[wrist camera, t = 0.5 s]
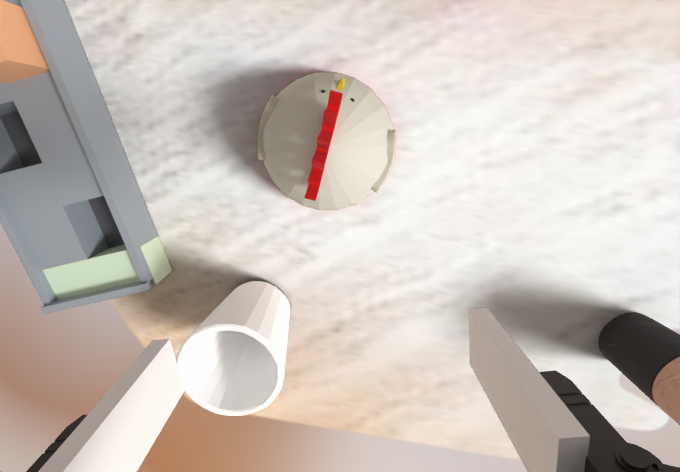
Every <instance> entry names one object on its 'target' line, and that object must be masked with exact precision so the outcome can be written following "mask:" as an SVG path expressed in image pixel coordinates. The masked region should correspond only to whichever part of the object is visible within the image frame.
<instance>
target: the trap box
mask: <svg viewBox="0 0 680 472" xmlns="http://www.w3.org/2000/svg"><path fill="white" fill-rule="evenodd" d="M4 1H6V2H9V3H12V4H14V5H17V6H20V7H22V8H23V9H24V12H25V14H26V16H27V19H28V21H29V23H30V26H31V28H32V30H33V33H34V35H35V37H36V39H37V42H38V44H39V46H40V49H41V51H42V53H43V56H44V58H45V60H46V63H47V65H48V67H49V70H50V72H47V73H43V74H40V75H36V76H33V77H29V78H25V79H22V80H18V81H15V82H11V83H8V84H6V83H0V222H1V224H2V226H3V228H4V230H5V232H6V234H7V236H8V237H9V239H10V241H11V243H12V245H13V247H14V249H15V251H16V253H17V254H18V256H19V258H20V260H21V262H22V264H23V266H24V268H25V270H26V271H27V274H28V276H29V277H30V279H31V281H32V283H33V285H34V287H35V289H36V291H37V293H38V295H39V297H40V298H41V300H42V302H43V304H44V306H43V307H41V310H42V311H43V313H44V314H47V313H51V312H56V311H61V310H65V309H70V308H73V307H78V306H83V305H87V304H91V303H96V302H100V301H105V300H109V299H113V298H118V297H122V296H127V295H131V294H135V293H140V292H144V291H149V290H150V289H151V288H153V287H154V286H155V285H156V284H157V283H159V282H160V281H161V280H162V279H163V278H165V277H166V276H167V275H168V274H169V273H171V272H172V268H171V266H170V263H169V261H168V258H167V256H166V253H165V251H164V248H163V246H162V243H161V241H160V238H159V236H158V233H157V231H156V228H155V226H154V223H153V221H152V218H151V216H150V213H149V211H148V208H147V206H146V203H145V201H144V198H143V196H142V193H141V191H140V188H139V186H138V183H137V181H136V178H135V176H134V173H133V171H132V168H131V166H130V163H129V161H128V158H127V156H126V153H125V151H124V148H123V146H122V143H121V141H120V138H119V136H118V133H117V131H116V128H115V126H114V123H113V121H112V118H111V116H110V113H109V111H108V108H107V106H106V103H105V101H104V98H103V96H102V93H101V91H100V88H99V86H98V83H97V81H96V78H95V76H94V73H93V71H92V68H91V66H90V63H89V61H88V58H87V56H86V53H85V51H84V48H83V46H82V43H81V41H80V38H79V36H78V34H77V31H76V29H75V26H74V24H73V21H72V19H71V16H70V14H69V11H68V9H67V6H66V4H65V1H64V0H4Z"/></svg>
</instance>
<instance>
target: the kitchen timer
mask: <svg viewBox="0 0 680 472" xmlns="http://www.w3.org/2000/svg"><path fill="white" fill-rule="evenodd" d="M395 149H396V130H393V123H392V121H391V119H390V116H389V114H388V112H387V109H386V107H385V105H384V103H383V102H382V101H381V100H380V98H379V97H378V96H377V95H376V94H375V92H374V91H373V90H372V89H371V88H369V87H368V86H366V85H365V84H363V83H362V82H360V81H359V80H357V79H356V78H354V77H350V76H347V75H344V74H340V73H337V72H318V73H313V74H310V75H307V76H304V77H301V78H298V79H296V80H295V81H293V82H292V83H291V84H289V85H288V86H287V87H285V88H284V89H283V90H281V91H280V92H279V94H278V95H277V96H276V97H275V96H274V95H272V96H271V97H270V98H269V100H268V102H267V104H266V106H265V108H264V110H263V113H262V117H261V120H260V125H259V131H258V141H257V154H258V160H259V161H262V160H263V161H264V165H265V167H266V169H267V171H268V173H269V175H270V177H271V178H272V180H273V182H274V183H275V184H276V185H277V187H278V188H279V189H280V190H281V191H282V192H283V193H284V194H285V195H286V196H287V197H289V198H291V199H292V200H294V201H296V202H297V203H299V204H301V205H302V206H306V207H310V208H314V209H317V210H339V209H343V208H346V207H349V206H352V205H356V204H357V203H359V202H360V201H362V200H363V199H365V198H366V197H368V196H369V195H371V194H372V193H373V192H377V191H378V190H379V189H380V187H381V185H382V184H383V182H384V180H385V179H386V177H387V175H388V173H389V171H390V168H391V166H392V163H393V159H394V155H395Z"/></svg>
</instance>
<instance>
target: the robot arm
mask: <svg viewBox="0 0 680 472" xmlns="http://www.w3.org/2000/svg"><path fill="white" fill-rule="evenodd" d="M469 336H470V365H471V367H472V369H473V371H474V373H475V374H476V376H477V378H478V380H479V382H480V384H481V386H482V387H483V389H484V391H485V393H486V395H487V397H488V399H489V400H490V402H491V404H492V406H493V408H494V410H495V412H496V413H497V415H498V417H499V419H500V421H501V423H502V425H503V427H504V428H505V430H506V432H507V434H508V436H509V438H510V440H511V441H512V443H513V445H514V447H515V449H516V451H517V453H518V454H519V456H520V458H521V460H522V462H523V464H524V465H525V468H526V469H527V471H528V472H680V468H678V467H673V466H669V465H665V464H662V462H661V461H660V460H659V459H658V458H657V457H655V456H654V455H653V454H651V453H650V452H649V451H647V450H645V449H643V448H641V447H639V446H637V445H634V444H630V443H627V442H626V441H625V440H624V439H623V438H622V437H621V436H620V435H619V433H618V432H617V431H616V430H615V429H614V428H613V427H612V426H611V424H610V423H609V422H608V421H607V420H606V419H605V418H604V417H603V416H602V414H601V413H600V412H599V411H598V410H597V409H596V408H595V407H594V406H593V405H591V403H590V401H589V400H588V399H587V398H586V397H585V396H584V395H582V392H581V391H580V390H579V389H578V388H577V387H576V385H575V384H574V383H573V382H572V381H571V380H570V379H568V378H566V377H565V376H563V375H562V374H560V373H558V372H557V371H546V372H539V371H538V370H537V369H536V368H535V366H534V365H533V364H532V363H531V361H530V360H529V359H528V358H527V356H526V355H525V354H524V353H523V351H522V350H521V349H520V348H519V346H518V345H517V344H516V343H515V341H514V340H513V339H512V338H511V336H510V335H509V334H508V333H507V331H506V330H505V329H504V328H503V326H502V325H501V324H500V323H499V321H498V320H497V319H496V318H495V316H494V315H493V314H492V313H491V311H490V310H489V309H488V308H487V307H486V308H476V309H469ZM184 391H185V390H184V386H183V383H182V379H181V376H180V373H179V369H178V366H177V362H176V359H175V355H174V352H173V349H172V345H171V342H170V339H163V340H153V341H152V342H151V343H150V344H149V345H148V347H147V348H146V349H145V350H144V351H143V352H142V353H141V355H140V356H139V357H138V358H137V359H136V360H135V361H134V363H133V364H132V365H131V366H130V367H129V368H128V369H127V371H126V372H125V373H124V374H123V375H122V376H121V377H120V379H119V380H118V381H117V382H116V383H115V384H114V385H113V387H112V388H111V389H110V390H109V391H108V392H107V394H106V395H105V396H104V397H103V398H102V399H101V401H99V403H98V404H97V405H96V406H95V407H94V408H93V409H92V411H91V412H90V413H89V414H88V415H82V416H81V417H80V418H78V419H77V420H76V421H74V422H73V423H72V424H70V425H69V426H68V427H66V429H65V430H64V431H63V432H62V433H61V434H60V435H59V436H58V438H57V439H56V440H55V442H54V443H52V444H51V445H50V446H49V447H48V449H47V450H46V451H45V453H44V454H42V455H41V456H40V457H39V458H38V459H37V461H36V462H35V463H34V464H33V465H32V466H31V467H30V468H29V469H28V471H27V472H137V470H138V469H139V467H140V465H141V463H142V462H143V460H144V458H145V457H146V455H147V453H148V452H149V450H150V448H151V446H152V445H153V443H154V441H155V440H156V438H157V436H158V435H159V433H160V431H161V429H162V428H163V426H164V424H165V423H166V421H167V419H168V418H169V416H170V414H171V413H172V411H173V409H174V407H175V406H176V404H177V402H178V401H179V399H180V397H181V396H182V394H183V392H184Z"/></svg>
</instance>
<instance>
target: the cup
mask: <svg viewBox="0 0 680 472" xmlns="http://www.w3.org/2000/svg"><path fill="white" fill-rule="evenodd" d="M289 317H290V305H289V303H288V301H287V298H286V297H285V295H284V293H283V291H282V290H281V289H280V288H278V287H276V286H273V285H271V284H270V283H267V282H261V281H256V280H254V281H249V282H247V283H244V284H242V285H240V286H238V287H237V288H235V289H234V290H233V291H232V292H231V293H230V294H229V295H228V296H227V297H226V299H225V300H224V301H223V302H222V303H221V304H220V305H219V306H218V307H217V308H216V309H215V310H214V311H213V312H212V313H211V314H210V315H209V316H208V317H207V318H206V319H205V320H204V321H203V322H202V323H201V324H200V325H199V326H198V327H197V328H196V329H195V330H194V331H193V332H192V333H191V334H190V335H189V336H188V338H187V339H186V340H185V341H184V342H183V344H182V345H181V347H180V350H179V352H178V354H177V358H176V362H177V366H178V369H179V373H180V376H181V379H182V383H183V386H184V390H185V393H186V394H187V395H188V396H189V397H190V398H191V399H192V400H193V401H194V402H196V403H197V404H198V405H200V406H201V407H203V408H205V409H207V410H209V411H211V412H213V413H216V414H222V415H228V416H237V415H238V416H240V415H247V414H251V413H254V412H257V411H259V410H261V409H263V408H265V407H267V406H268V405H269V404H270V403H271V402H272V401H273V400H274V399H275V398H276V397H277V395H278V393H279V391H280V390H281V388H282V383H283V379H284V371H285V360H286V349H287V338H288V328H289Z"/></svg>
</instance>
